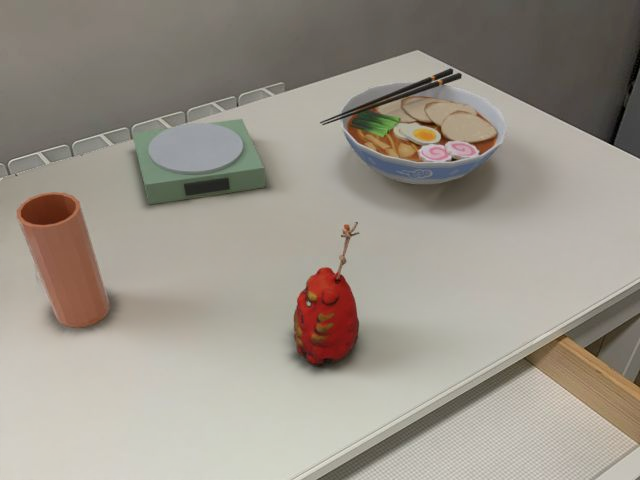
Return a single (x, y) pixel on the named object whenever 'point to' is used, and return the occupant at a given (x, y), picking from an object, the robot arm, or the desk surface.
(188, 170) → the scale
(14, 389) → the desk surface
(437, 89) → the ramen bowl
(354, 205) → the desk surface
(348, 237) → the red clay folk toy
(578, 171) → the desk surface
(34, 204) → the cup
